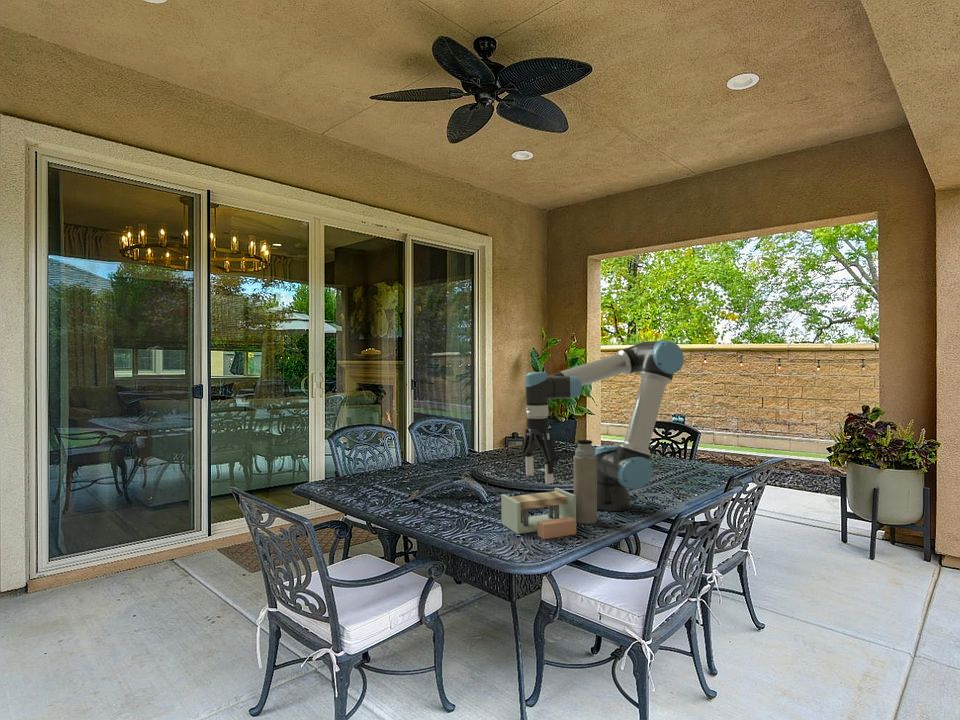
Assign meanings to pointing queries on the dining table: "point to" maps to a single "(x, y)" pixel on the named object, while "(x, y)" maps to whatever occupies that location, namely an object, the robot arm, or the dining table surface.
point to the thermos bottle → (585, 482)
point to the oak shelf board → (540, 500)
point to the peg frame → (524, 524)
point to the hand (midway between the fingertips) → (539, 479)
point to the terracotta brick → (556, 527)
